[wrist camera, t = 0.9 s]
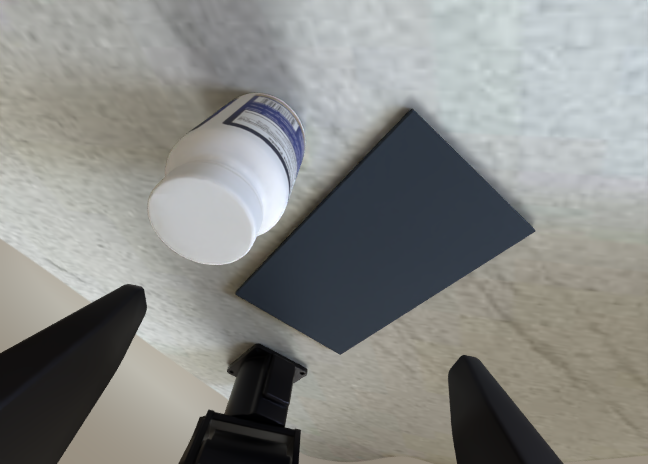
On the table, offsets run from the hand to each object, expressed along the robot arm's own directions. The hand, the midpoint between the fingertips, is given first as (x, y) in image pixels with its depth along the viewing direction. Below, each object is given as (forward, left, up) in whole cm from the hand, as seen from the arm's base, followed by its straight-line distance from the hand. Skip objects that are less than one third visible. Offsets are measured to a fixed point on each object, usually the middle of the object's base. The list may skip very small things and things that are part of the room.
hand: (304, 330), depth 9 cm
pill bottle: (-2, +4, -14) cm, 14 cm away
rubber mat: (-5, -8, -13) cm, 16 cm away
